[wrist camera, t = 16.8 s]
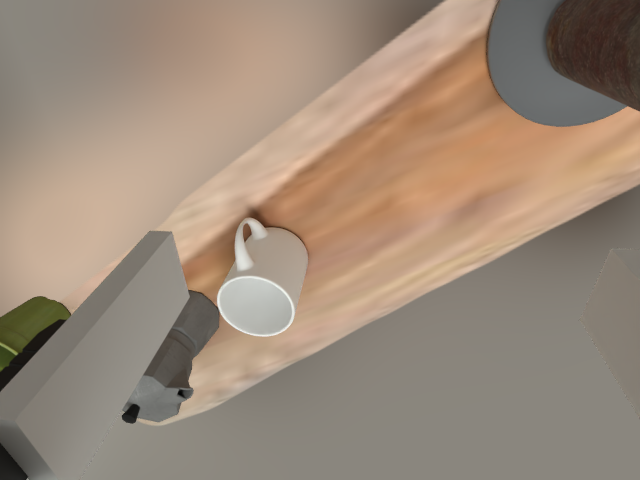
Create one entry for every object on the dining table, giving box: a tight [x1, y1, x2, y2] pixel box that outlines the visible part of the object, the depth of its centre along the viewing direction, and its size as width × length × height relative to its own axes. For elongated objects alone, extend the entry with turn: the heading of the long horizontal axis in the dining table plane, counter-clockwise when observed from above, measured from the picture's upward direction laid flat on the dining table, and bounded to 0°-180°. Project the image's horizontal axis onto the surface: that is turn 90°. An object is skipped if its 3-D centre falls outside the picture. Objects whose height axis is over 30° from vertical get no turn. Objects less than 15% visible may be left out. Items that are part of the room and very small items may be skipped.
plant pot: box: [0, 296, 71, 372], centre depth 59 cm, size 12×12×11 cm
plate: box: [486, 0, 627, 127], centre depth 34 cm, size 16×16×1 cm
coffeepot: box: [122, 290, 219, 423], centre depth 52 cm, size 15×9×18 cm, turn 105°
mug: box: [217, 218, 308, 336], centre depth 46 cm, size 9×12×11 cm
